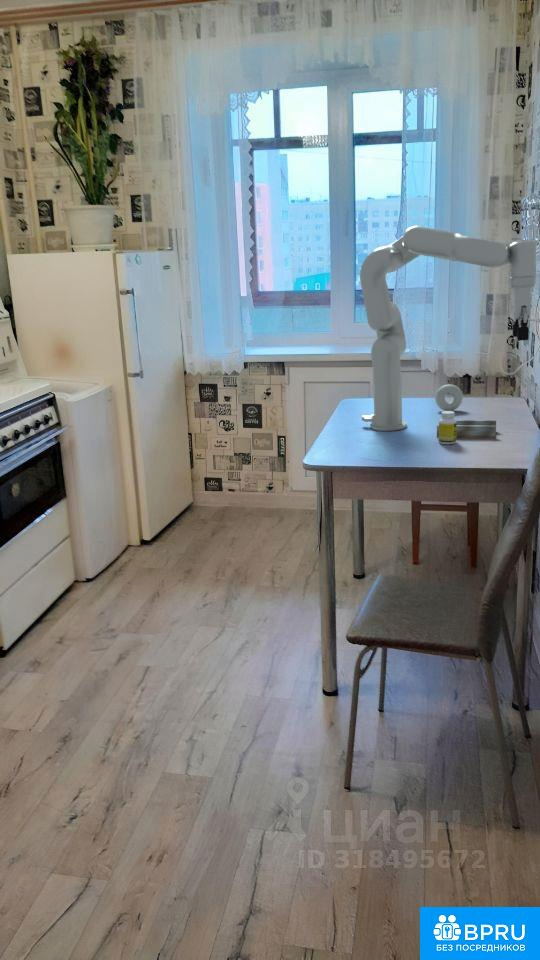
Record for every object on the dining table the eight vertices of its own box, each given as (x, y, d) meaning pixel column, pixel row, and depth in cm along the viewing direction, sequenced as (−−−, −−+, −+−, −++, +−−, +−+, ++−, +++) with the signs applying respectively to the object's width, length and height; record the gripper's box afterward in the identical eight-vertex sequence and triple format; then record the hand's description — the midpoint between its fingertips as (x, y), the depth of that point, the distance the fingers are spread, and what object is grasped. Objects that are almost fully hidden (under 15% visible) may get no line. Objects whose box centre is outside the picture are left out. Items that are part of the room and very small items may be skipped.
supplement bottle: (456, 444, 238) (456, 413, 236) (438, 445, 240) (438, 414, 237) (456, 440, 244) (456, 410, 241) (438, 440, 245) (438, 410, 242)
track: (436, 437, 249) (436, 425, 248) (439, 430, 257) (439, 419, 256) (494, 438, 243) (495, 426, 242) (495, 431, 251) (496, 420, 250)
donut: (462, 409, 286) (462, 382, 283) (463, 411, 283) (463, 384, 280) (434, 410, 288) (434, 384, 285) (435, 412, 284) (435, 385, 282)
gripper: (505, 281, 247) (504, 335, 252) (513, 284, 230) (512, 342, 235) (529, 280, 245) (527, 334, 250) (540, 283, 229) (537, 341, 234)
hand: (520, 338), depth 243 cm, fingers open, 9 cm apart
